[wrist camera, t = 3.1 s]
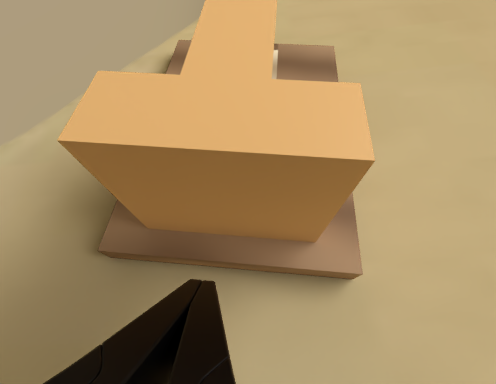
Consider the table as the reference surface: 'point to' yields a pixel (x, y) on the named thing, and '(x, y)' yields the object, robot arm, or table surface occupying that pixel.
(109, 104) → the t block
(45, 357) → the table surface
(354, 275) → the board
